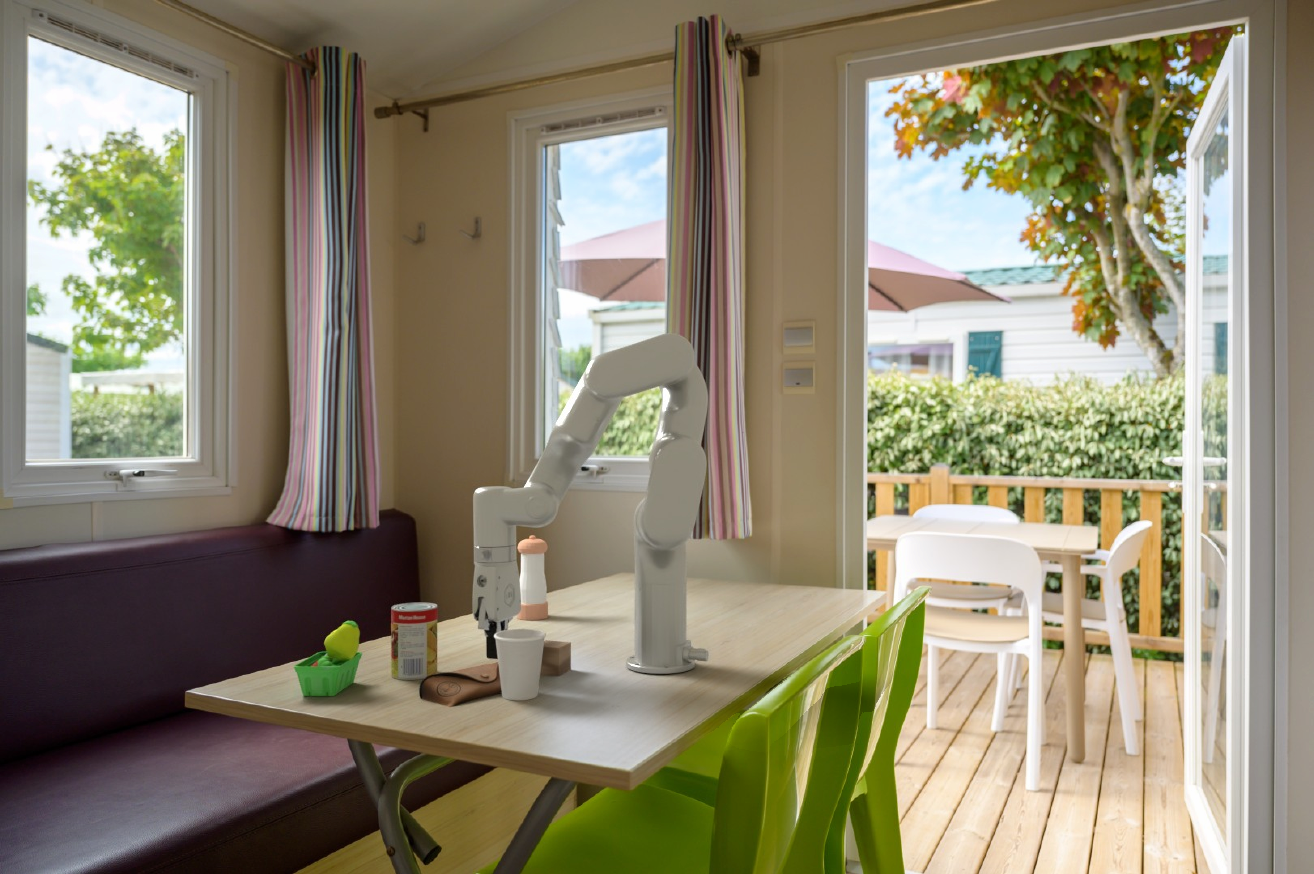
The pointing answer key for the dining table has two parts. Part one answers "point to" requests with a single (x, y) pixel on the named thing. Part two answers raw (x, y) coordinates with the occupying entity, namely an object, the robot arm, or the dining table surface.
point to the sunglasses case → (461, 685)
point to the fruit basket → (331, 663)
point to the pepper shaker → (533, 579)
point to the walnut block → (556, 658)
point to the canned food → (413, 640)
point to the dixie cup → (519, 662)
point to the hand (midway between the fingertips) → (496, 657)
